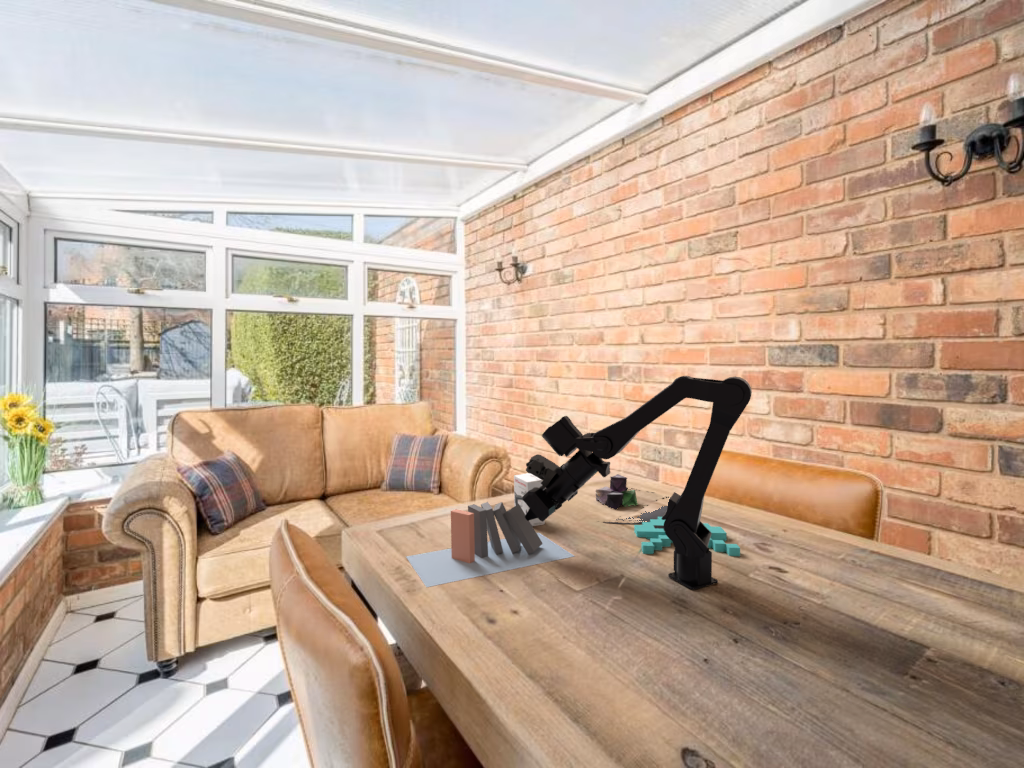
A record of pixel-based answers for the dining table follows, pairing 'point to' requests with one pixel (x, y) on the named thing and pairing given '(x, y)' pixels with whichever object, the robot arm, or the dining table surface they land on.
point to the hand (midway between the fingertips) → (526, 518)
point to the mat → (481, 562)
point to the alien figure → (659, 540)
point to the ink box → (522, 487)
